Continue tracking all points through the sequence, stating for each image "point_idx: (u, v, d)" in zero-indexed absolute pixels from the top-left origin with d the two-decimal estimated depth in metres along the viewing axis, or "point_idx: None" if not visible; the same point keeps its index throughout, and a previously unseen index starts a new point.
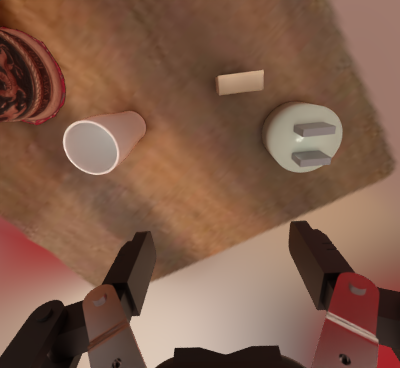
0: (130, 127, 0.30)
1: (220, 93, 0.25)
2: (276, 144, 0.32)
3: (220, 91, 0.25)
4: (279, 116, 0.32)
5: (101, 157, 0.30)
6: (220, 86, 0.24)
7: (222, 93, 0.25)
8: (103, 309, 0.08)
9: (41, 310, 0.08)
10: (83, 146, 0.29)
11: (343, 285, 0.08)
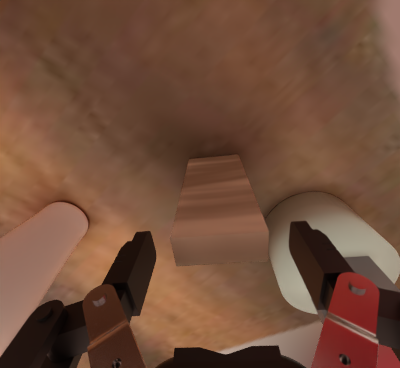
0: (31, 273, 0.17)
1: (178, 264, 0.12)
2: (287, 282, 0.19)
3: (178, 261, 0.12)
4: None
5: None
6: (177, 254, 0.11)
7: (182, 264, 0.12)
8: (103, 309, 0.08)
9: (40, 310, 0.08)
10: None
11: (343, 285, 0.08)
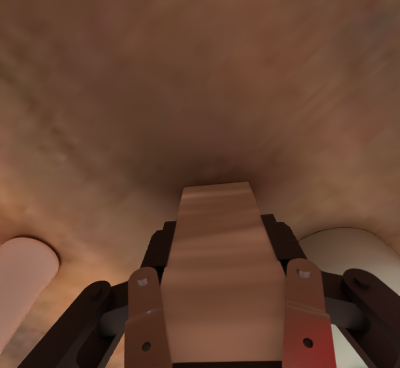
0: None
1: None
2: None
3: None
4: None
5: None
6: None
7: None
8: (144, 290, 0.08)
9: (92, 287, 0.08)
10: None
11: (291, 269, 0.08)
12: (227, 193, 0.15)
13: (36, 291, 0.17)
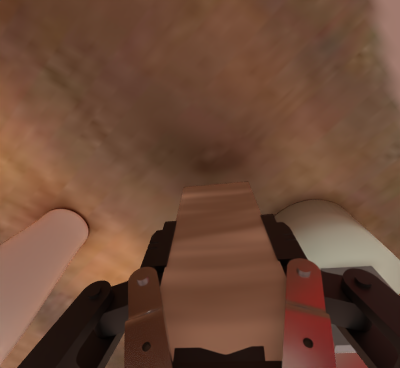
0: (30, 281, 0.17)
1: None
2: None
3: None
4: None
5: None
6: None
7: None
8: (144, 290, 0.08)
9: (92, 287, 0.08)
10: None
11: (291, 269, 0.08)
12: (227, 193, 0.15)
13: (74, 248, 0.22)
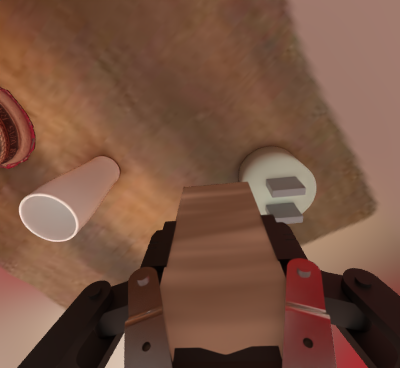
0: (95, 185, 0.29)
1: None
2: None
3: None
4: (252, 168, 0.31)
5: (67, 215, 0.29)
6: None
7: None
8: (144, 290, 0.08)
9: (92, 288, 0.08)
10: (46, 207, 0.28)
11: (291, 269, 0.08)
12: (227, 193, 0.15)
13: (113, 179, 0.34)
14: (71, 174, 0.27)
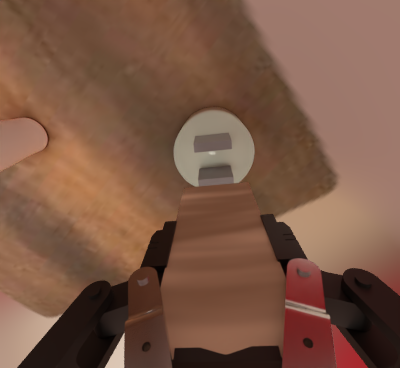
0: None
1: None
2: (179, 158, 0.27)
3: None
4: None
5: None
6: None
7: None
8: (144, 290, 0.08)
9: (92, 288, 0.08)
10: None
11: (291, 269, 0.08)
12: (227, 194, 0.15)
13: (33, 142, 0.30)
14: None
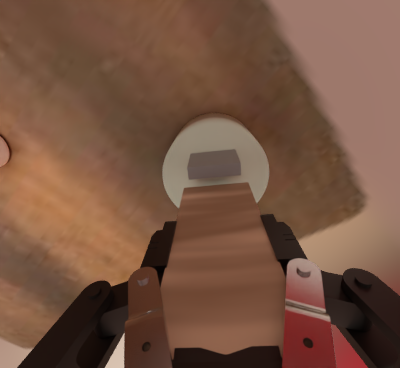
0: None
1: None
2: (170, 182, 0.20)
3: None
4: (175, 139, 0.21)
5: None
6: None
7: None
8: (144, 290, 0.08)
9: (92, 288, 0.08)
10: None
11: (291, 269, 0.08)
12: (227, 194, 0.15)
13: None
14: None
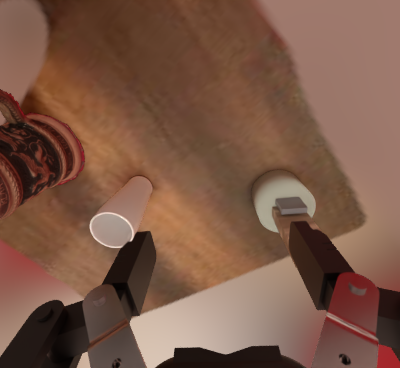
0: (141, 203, 0.36)
1: None
2: (261, 212, 0.38)
3: None
4: (264, 189, 0.39)
5: (117, 226, 0.37)
6: None
7: None
8: (103, 309, 0.08)
9: (40, 310, 0.08)
10: (103, 220, 0.35)
11: (343, 285, 0.08)
12: None
13: (149, 195, 0.42)
14: (123, 194, 0.35)
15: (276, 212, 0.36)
